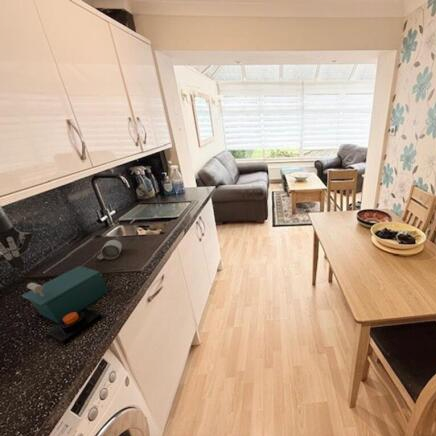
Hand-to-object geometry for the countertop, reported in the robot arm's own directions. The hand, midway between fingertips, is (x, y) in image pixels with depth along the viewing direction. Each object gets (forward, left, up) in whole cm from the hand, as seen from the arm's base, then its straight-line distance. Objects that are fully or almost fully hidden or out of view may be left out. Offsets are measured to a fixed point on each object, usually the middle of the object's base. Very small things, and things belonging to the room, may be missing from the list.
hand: (19, 267), depth 74 cm
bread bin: (+8, +2, -23) cm, 24 cm away
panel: (+1, -12, -23) cm, 25 cm away
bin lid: (+7, +2, -13) cm, 15 cm away
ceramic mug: (+34, +21, -23) cm, 46 cm away
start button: (+1, -12, -19) cm, 23 cm away
